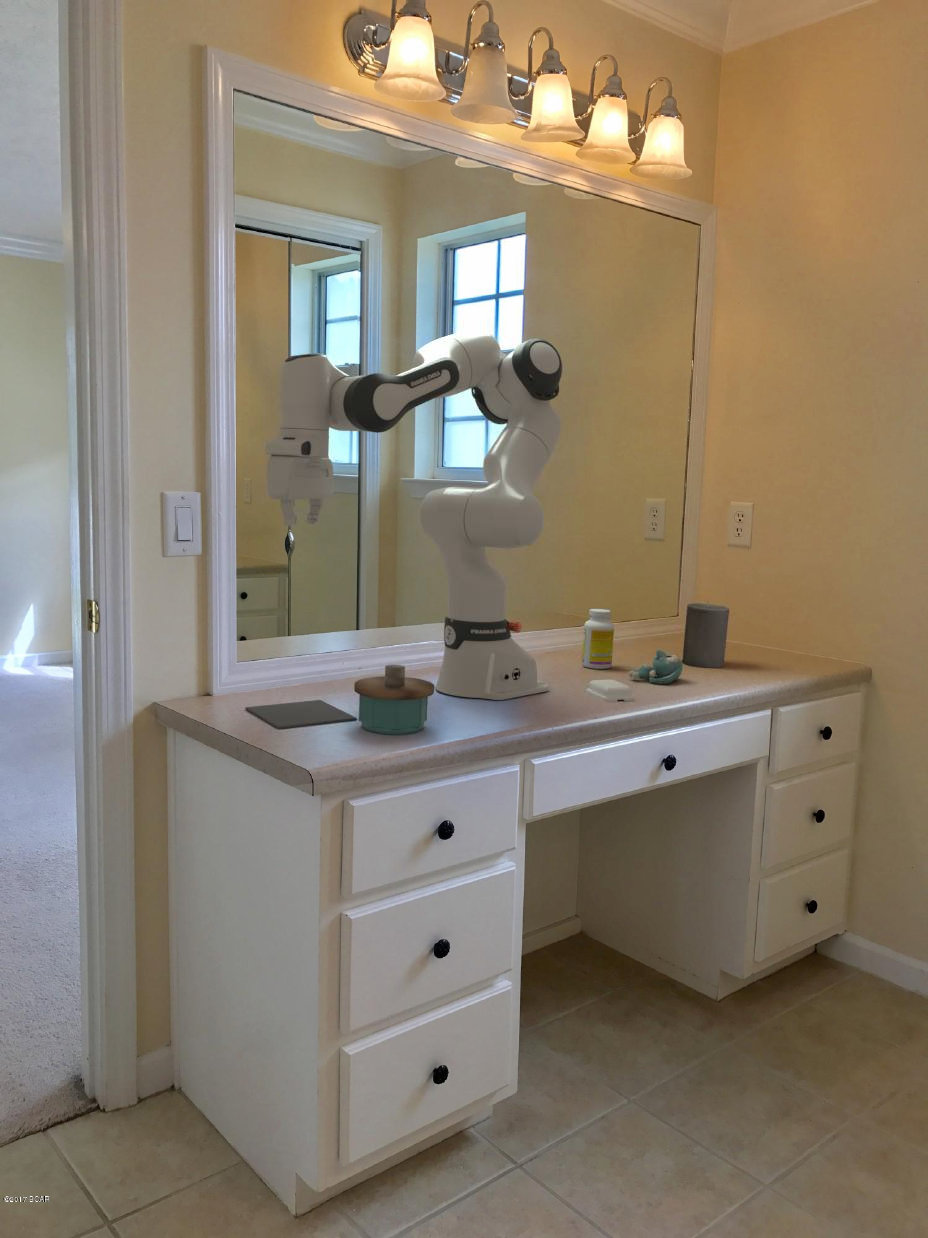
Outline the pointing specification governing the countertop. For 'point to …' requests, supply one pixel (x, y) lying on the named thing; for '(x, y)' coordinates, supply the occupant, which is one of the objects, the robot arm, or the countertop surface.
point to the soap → (609, 690)
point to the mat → (300, 714)
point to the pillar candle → (705, 635)
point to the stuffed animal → (660, 669)
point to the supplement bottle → (598, 640)
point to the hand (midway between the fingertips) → (301, 524)
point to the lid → (394, 685)
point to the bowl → (392, 715)
